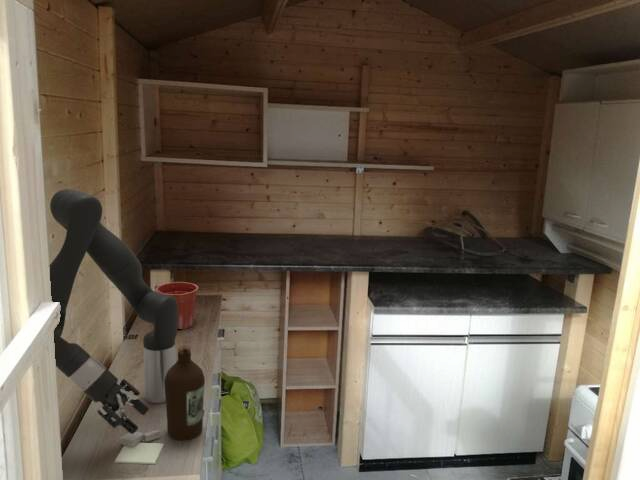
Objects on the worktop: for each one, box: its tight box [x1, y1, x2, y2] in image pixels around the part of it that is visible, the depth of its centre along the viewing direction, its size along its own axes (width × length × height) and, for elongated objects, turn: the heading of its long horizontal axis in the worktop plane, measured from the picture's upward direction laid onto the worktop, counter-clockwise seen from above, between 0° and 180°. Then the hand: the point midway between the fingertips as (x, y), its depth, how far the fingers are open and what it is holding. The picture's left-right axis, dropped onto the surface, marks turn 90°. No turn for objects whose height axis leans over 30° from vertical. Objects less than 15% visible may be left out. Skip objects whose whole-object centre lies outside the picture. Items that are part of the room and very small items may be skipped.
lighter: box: [119, 429, 161, 447], centre depth 144 cm, size 7×2×8 cm
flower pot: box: [155, 281, 199, 330], centre depth 220 cm, size 16×16×16 cm
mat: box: [114, 442, 165, 465], centre depth 139 cm, size 8×10×1 cm
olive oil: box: [164, 344, 206, 441], centre depth 147 cm, size 11×11×25 cm
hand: (141, 421), depth 137 cm, fingers open, 8 cm apart
